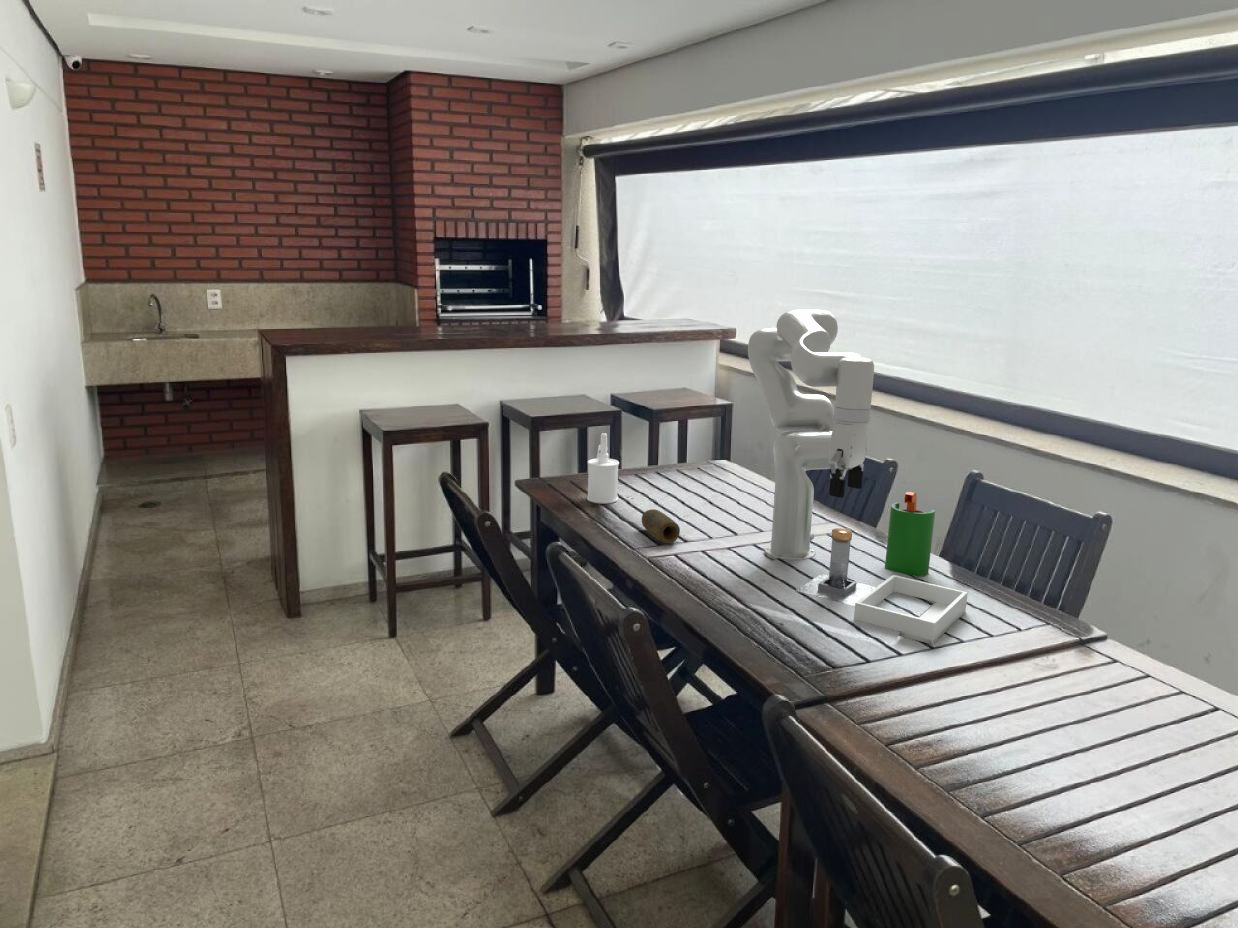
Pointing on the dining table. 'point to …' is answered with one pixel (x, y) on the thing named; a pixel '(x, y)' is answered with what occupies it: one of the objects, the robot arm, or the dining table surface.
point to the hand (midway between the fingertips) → (845, 492)
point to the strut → (839, 557)
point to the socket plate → (836, 590)
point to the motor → (909, 538)
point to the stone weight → (660, 526)
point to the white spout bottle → (602, 476)
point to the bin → (918, 628)
